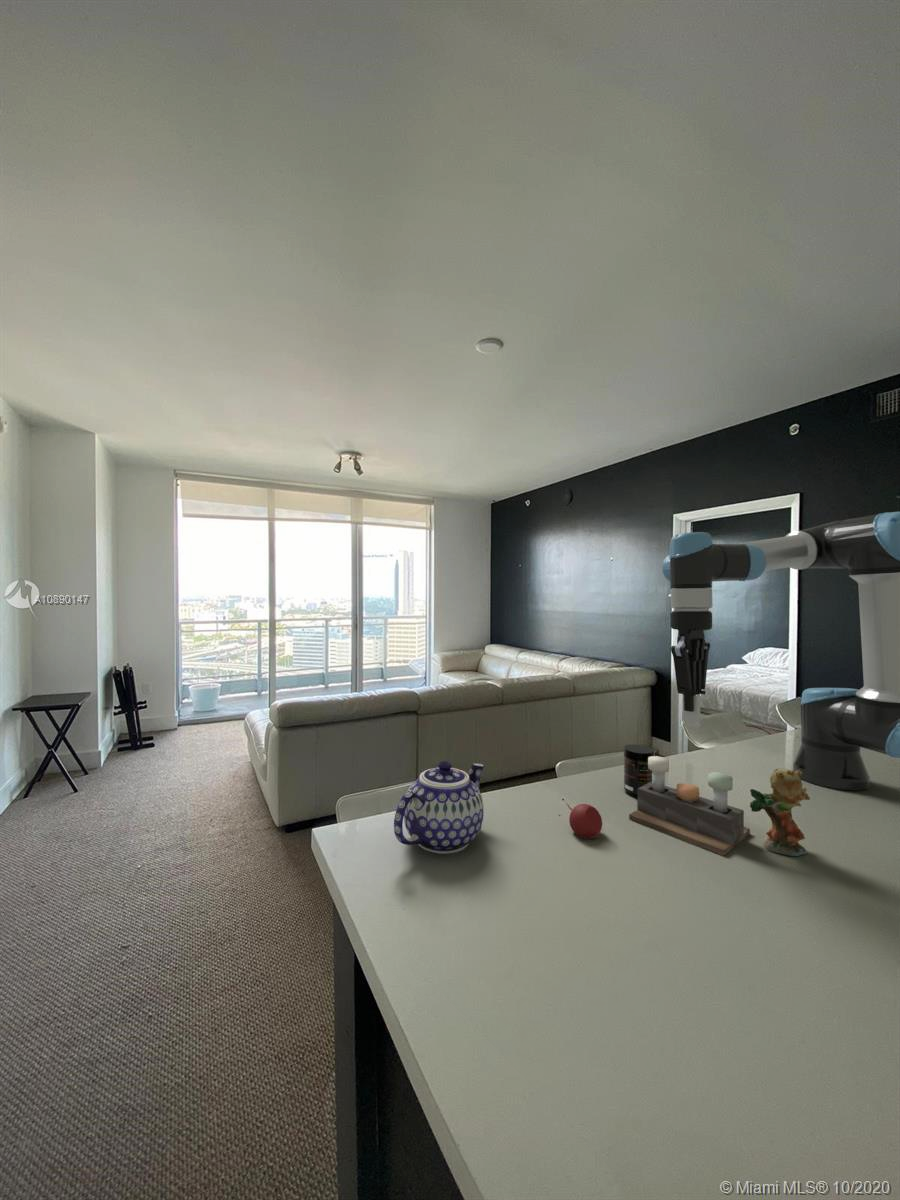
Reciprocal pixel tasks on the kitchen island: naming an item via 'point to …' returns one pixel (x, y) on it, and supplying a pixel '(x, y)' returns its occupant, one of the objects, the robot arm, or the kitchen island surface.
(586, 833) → the fruit
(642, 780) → the supplement container
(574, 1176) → the kitchen island surface
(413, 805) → the teapot
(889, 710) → the robot arm
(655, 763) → the cream button
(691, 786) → the orange capped peg
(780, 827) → the figurine
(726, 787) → the sage button
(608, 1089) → the kitchen island surface
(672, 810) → the button board
